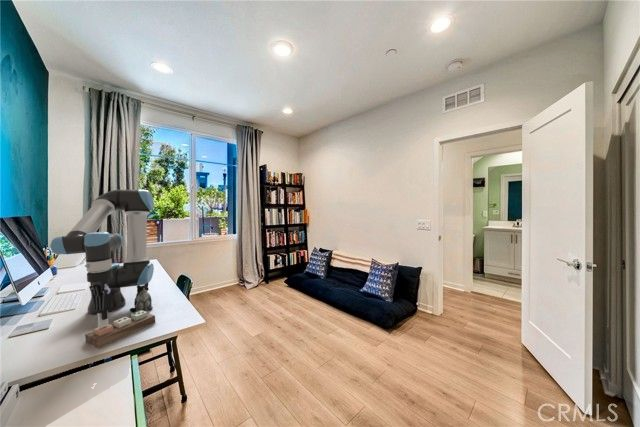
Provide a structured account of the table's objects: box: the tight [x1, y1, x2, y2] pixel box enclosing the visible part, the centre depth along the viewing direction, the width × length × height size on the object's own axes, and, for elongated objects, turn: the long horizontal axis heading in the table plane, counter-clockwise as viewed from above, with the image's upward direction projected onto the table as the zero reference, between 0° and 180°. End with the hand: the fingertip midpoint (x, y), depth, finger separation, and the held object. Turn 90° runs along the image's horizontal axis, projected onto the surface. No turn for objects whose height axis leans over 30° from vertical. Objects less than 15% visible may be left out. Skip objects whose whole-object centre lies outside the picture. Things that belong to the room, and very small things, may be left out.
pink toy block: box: [93, 323, 113, 337], centre depth 96 cm, size 4×4×5 cm
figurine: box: [129, 283, 153, 313], centre depth 121 cm, size 10×10×15 cm
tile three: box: [130, 310, 148, 321], centre depth 108 cm, size 4×4×5 cm
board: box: [84, 312, 156, 350], centre depth 102 cm, size 10×21×4 cm, turn 156°
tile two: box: [113, 316, 131, 328], centre depth 102 cm, size 4×4×5 cm
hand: (103, 326), depth 96 cm, fingers closed
